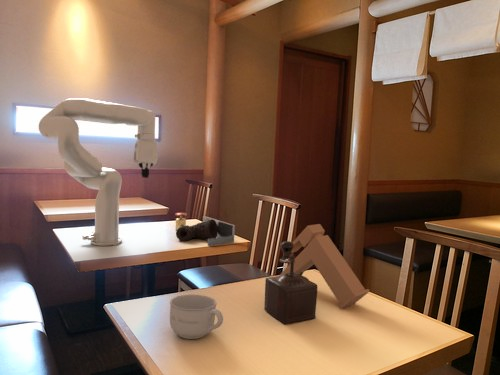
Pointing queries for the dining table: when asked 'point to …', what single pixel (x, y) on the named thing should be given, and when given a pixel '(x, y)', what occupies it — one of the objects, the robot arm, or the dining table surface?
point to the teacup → (194, 315)
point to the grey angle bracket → (221, 232)
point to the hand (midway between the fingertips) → (145, 177)
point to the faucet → (327, 265)
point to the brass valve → (180, 220)
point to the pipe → (198, 231)
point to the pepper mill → (290, 293)
